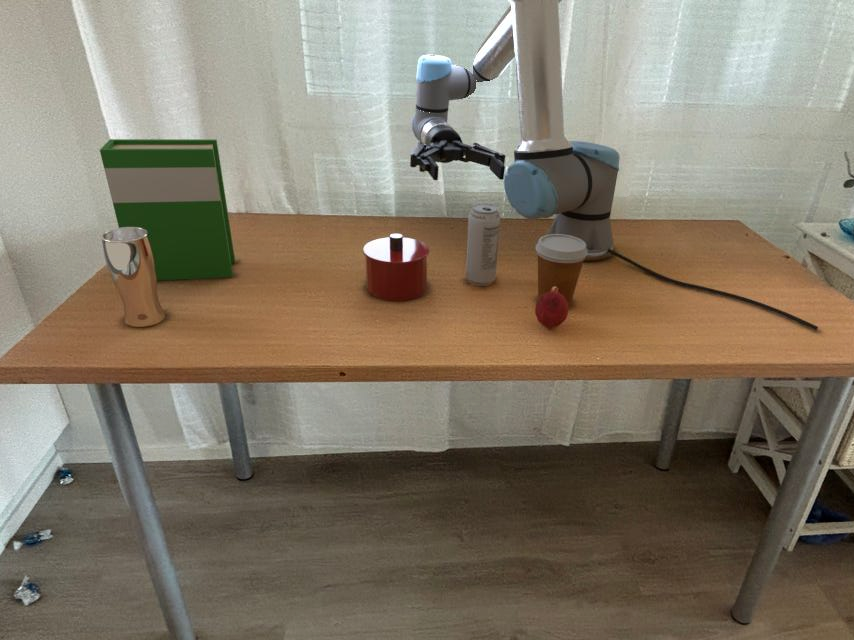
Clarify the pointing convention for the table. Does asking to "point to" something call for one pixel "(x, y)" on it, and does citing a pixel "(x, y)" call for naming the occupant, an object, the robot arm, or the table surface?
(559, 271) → the disposable coffee cup
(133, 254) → the beer glass
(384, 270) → the pot
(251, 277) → the table surface
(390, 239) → the pot lid
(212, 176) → the hardback book
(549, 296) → the onion
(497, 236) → the energy drink can
